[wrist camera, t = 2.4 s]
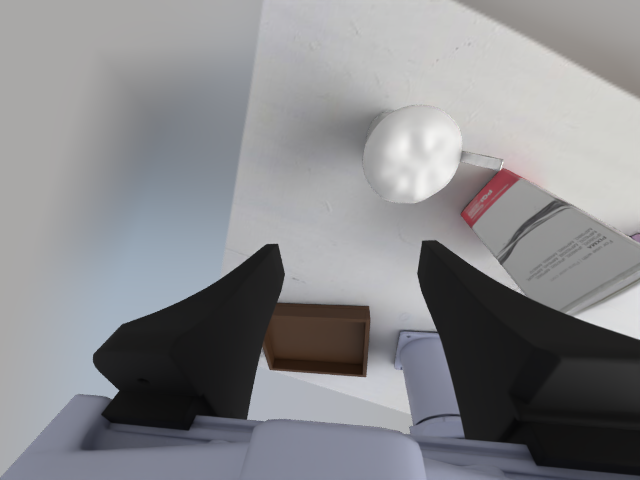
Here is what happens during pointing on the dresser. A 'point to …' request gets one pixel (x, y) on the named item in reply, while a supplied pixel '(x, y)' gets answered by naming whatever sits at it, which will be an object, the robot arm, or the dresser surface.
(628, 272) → the ink box
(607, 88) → the dresser surface
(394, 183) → the milkshake
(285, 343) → the tray
